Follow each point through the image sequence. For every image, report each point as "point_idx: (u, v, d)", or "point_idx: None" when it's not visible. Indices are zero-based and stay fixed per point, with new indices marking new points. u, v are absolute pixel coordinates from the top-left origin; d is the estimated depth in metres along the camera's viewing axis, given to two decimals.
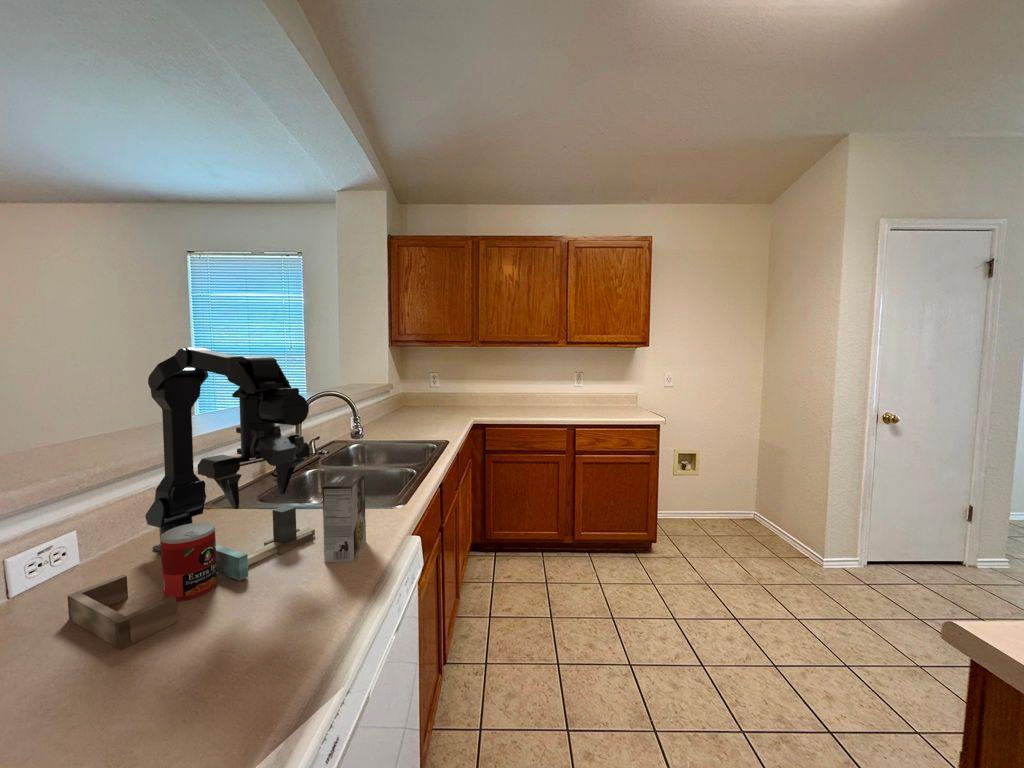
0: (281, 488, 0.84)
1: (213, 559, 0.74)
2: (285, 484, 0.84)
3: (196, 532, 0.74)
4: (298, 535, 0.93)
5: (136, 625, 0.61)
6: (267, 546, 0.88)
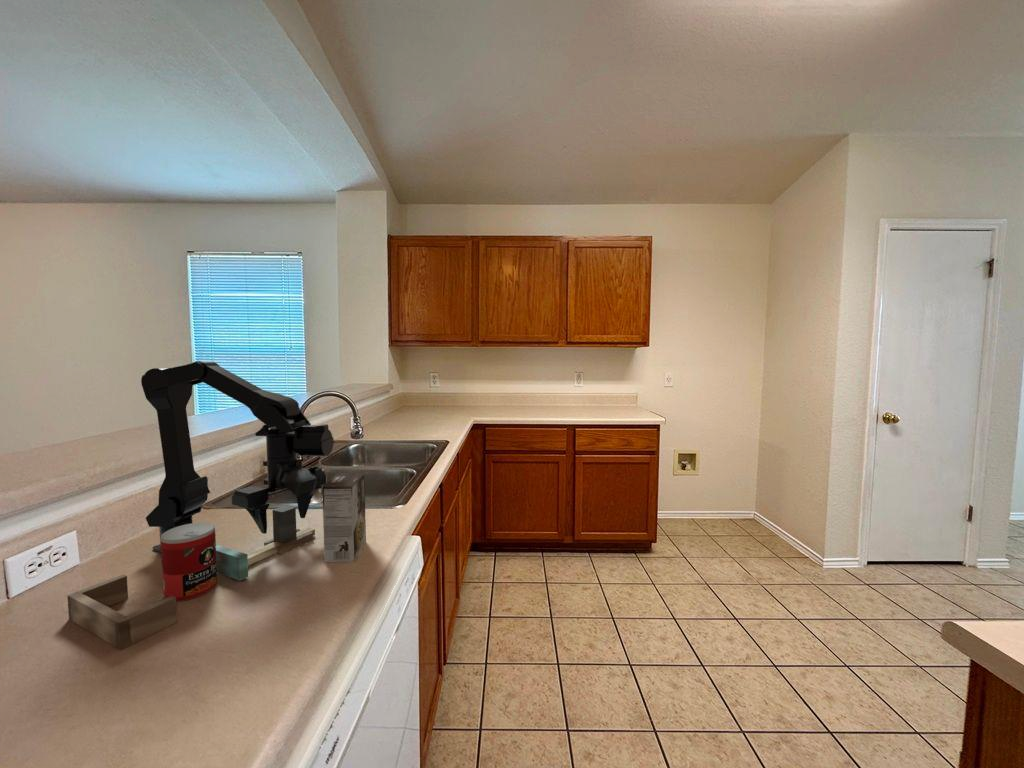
0: (301, 513, 0.95)
1: (213, 559, 0.74)
2: (305, 509, 0.94)
3: (196, 532, 0.74)
4: (298, 535, 0.93)
5: (136, 625, 0.61)
6: (267, 546, 0.88)
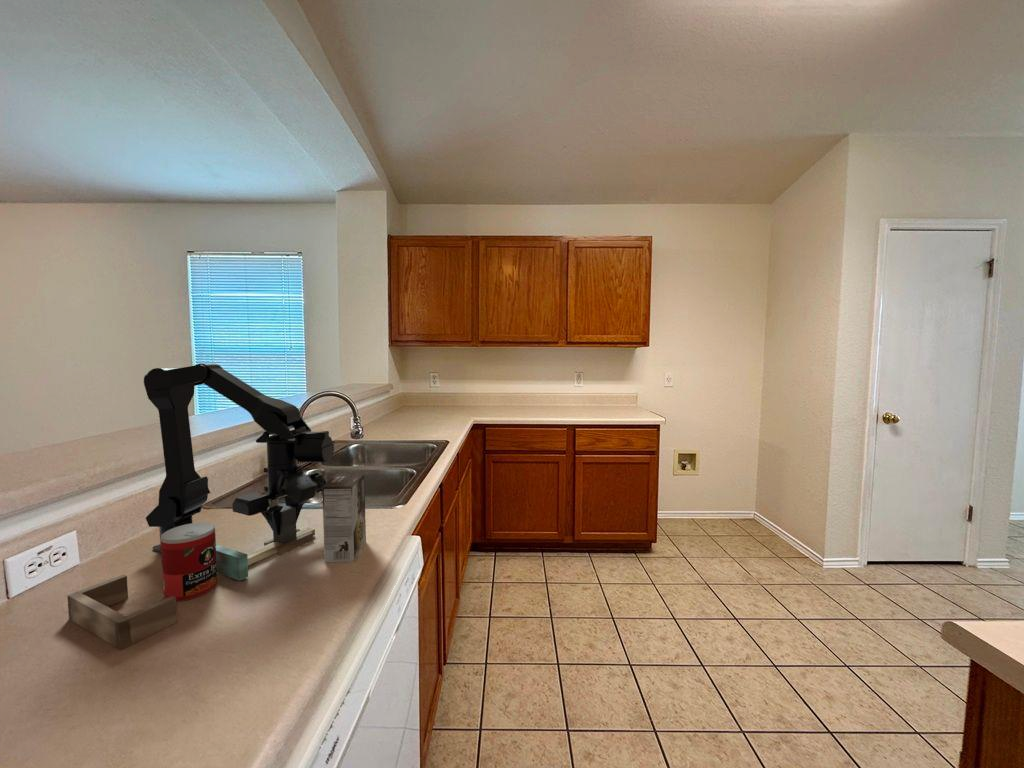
0: None
1: (213, 559, 0.74)
2: None
3: (196, 532, 0.74)
4: (298, 535, 0.93)
5: (136, 625, 0.61)
6: (267, 546, 0.88)
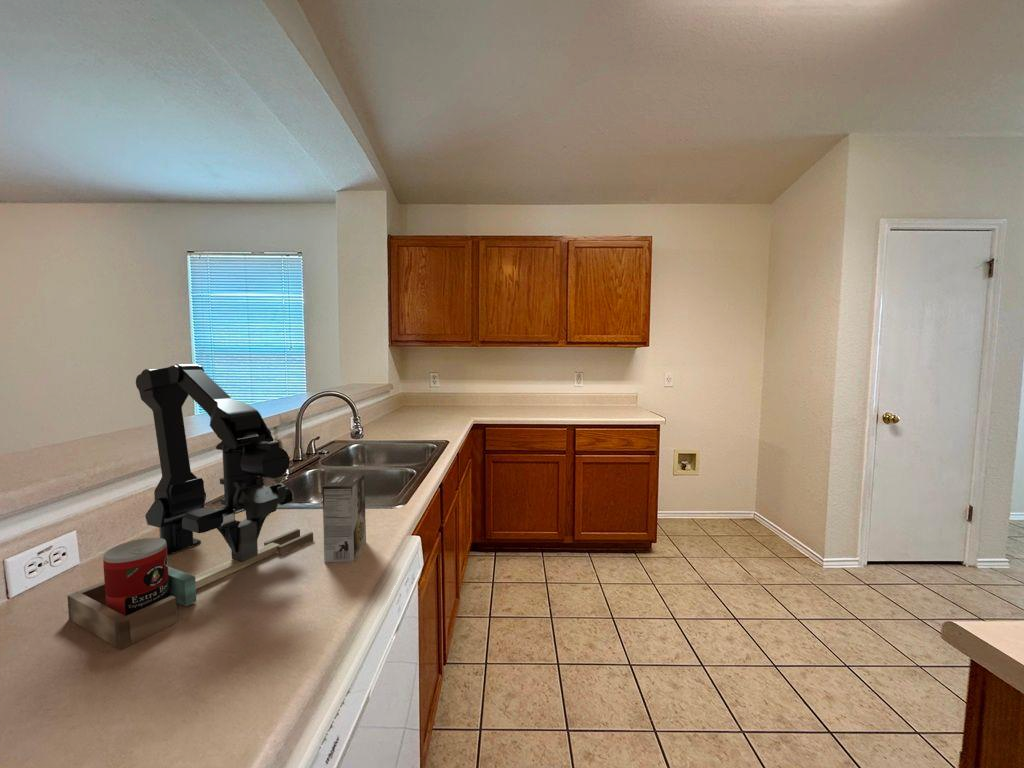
0: None
1: (163, 580, 0.68)
2: None
3: (144, 549, 0.67)
4: (260, 552, 0.85)
5: (136, 625, 0.61)
6: (223, 565, 0.80)
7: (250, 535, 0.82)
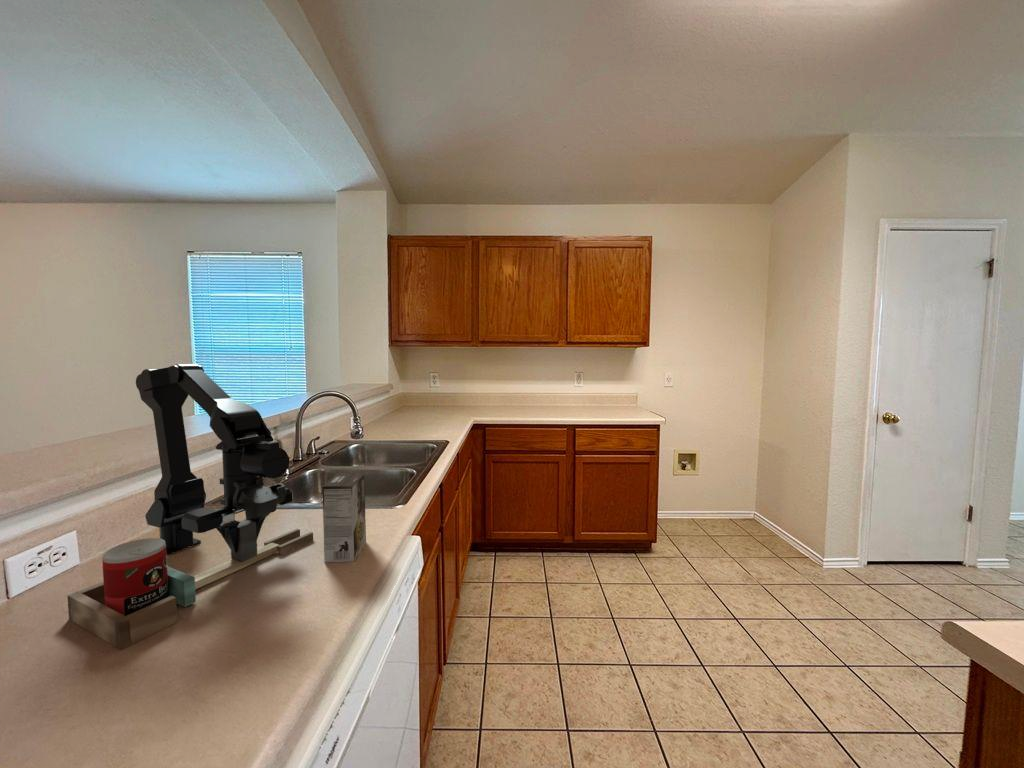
0: None
1: (162, 580, 0.67)
2: None
3: (143, 550, 0.67)
4: (260, 552, 0.85)
5: (136, 625, 0.61)
6: (223, 565, 0.80)
7: (249, 535, 0.82)
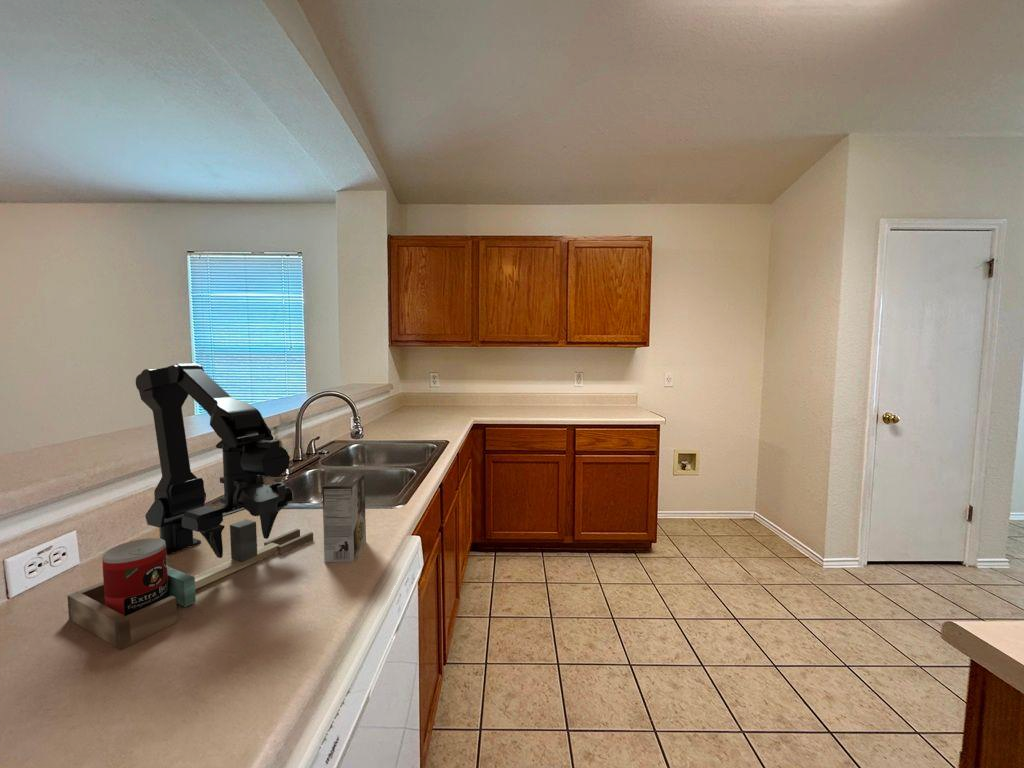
0: (264, 533, 0.87)
1: (162, 580, 0.67)
2: (268, 529, 0.86)
3: (143, 550, 0.67)
4: (260, 552, 0.85)
5: (136, 625, 0.61)
6: (223, 565, 0.80)
7: (250, 535, 0.82)
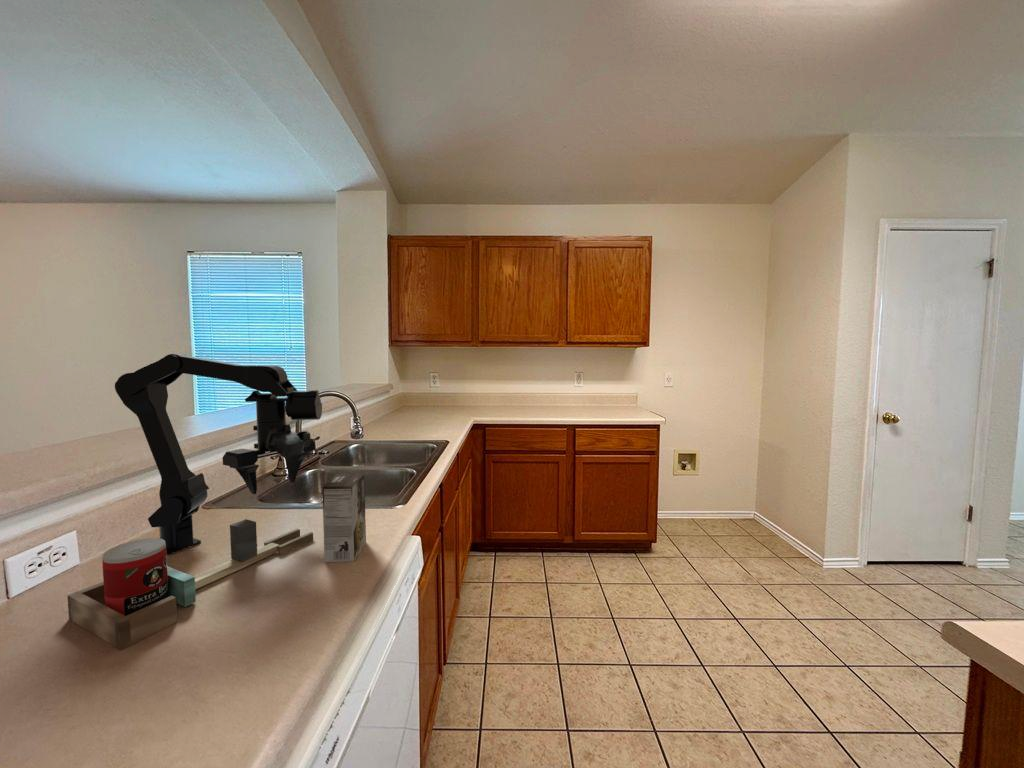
0: (291, 478, 0.98)
1: (162, 580, 0.67)
2: (294, 474, 0.98)
3: (143, 550, 0.67)
4: (260, 552, 0.85)
5: (136, 625, 0.61)
6: (223, 565, 0.80)
7: (250, 535, 0.82)
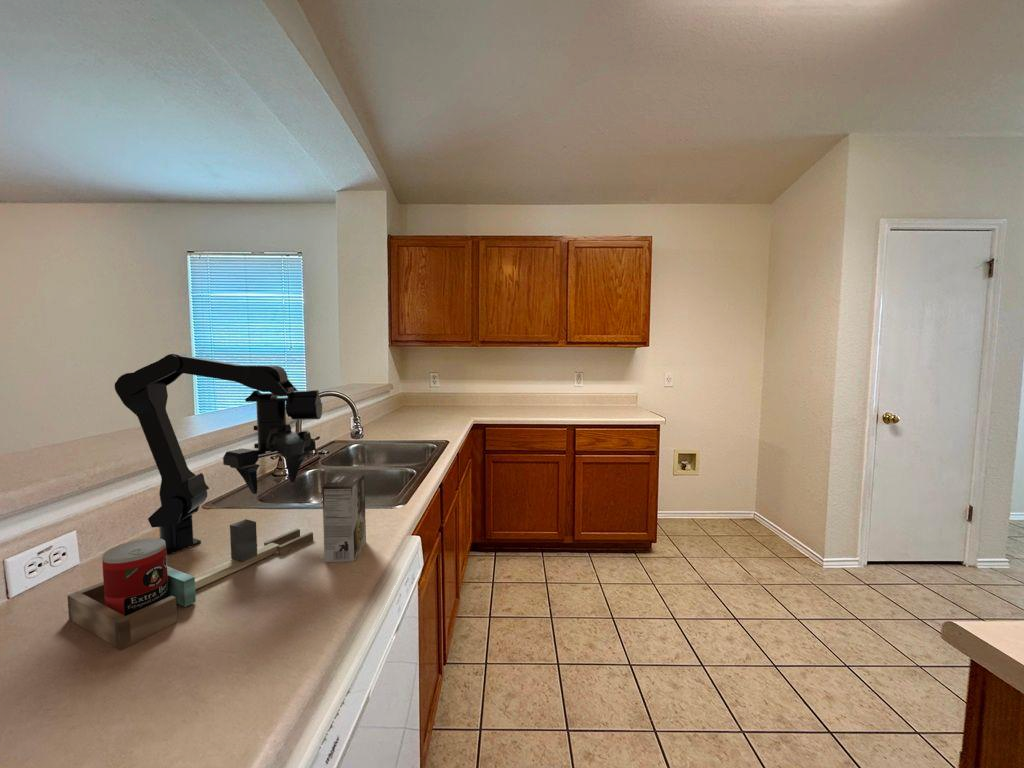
0: (291, 477, 0.99)
1: (162, 580, 0.67)
2: (294, 474, 0.98)
3: (143, 550, 0.67)
4: (260, 552, 0.85)
5: (136, 625, 0.61)
6: (223, 565, 0.80)
7: (250, 535, 0.82)
